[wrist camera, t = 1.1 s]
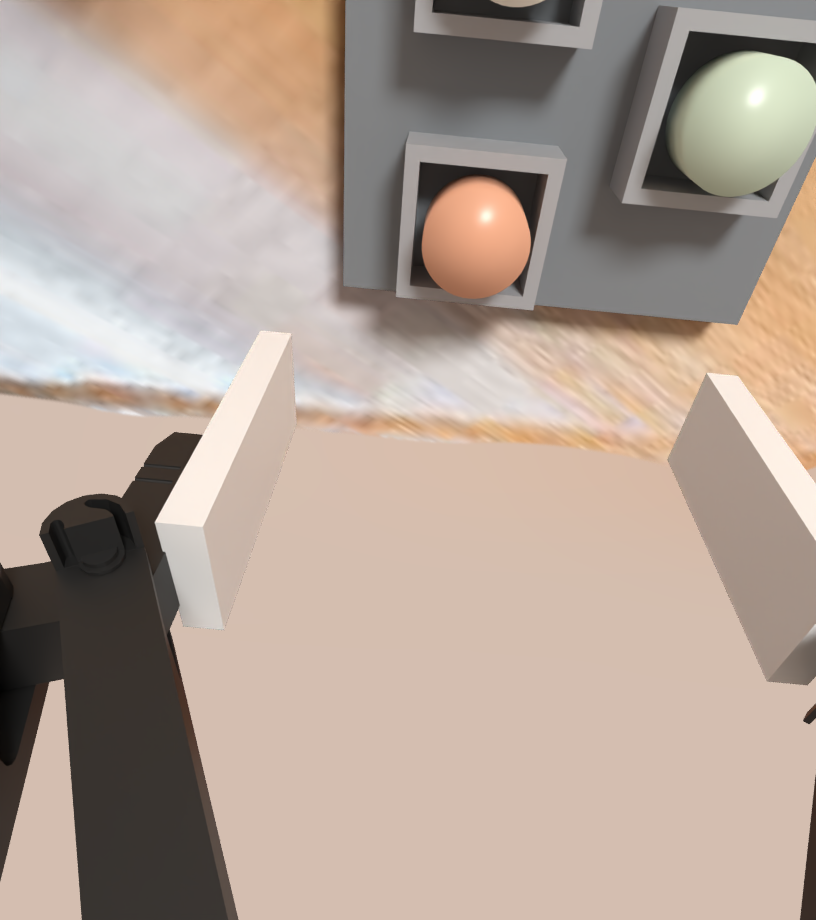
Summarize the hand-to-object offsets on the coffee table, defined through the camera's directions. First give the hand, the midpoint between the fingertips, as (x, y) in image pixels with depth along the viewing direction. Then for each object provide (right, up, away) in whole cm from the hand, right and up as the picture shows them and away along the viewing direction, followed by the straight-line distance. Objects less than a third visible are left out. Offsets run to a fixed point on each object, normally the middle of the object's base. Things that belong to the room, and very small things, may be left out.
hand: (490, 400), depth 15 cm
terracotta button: (+1, +9, +11) cm, 14 cm away
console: (+5, +15, +11) cm, 19 cm away
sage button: (+10, +12, +8) cm, 17 cm away
